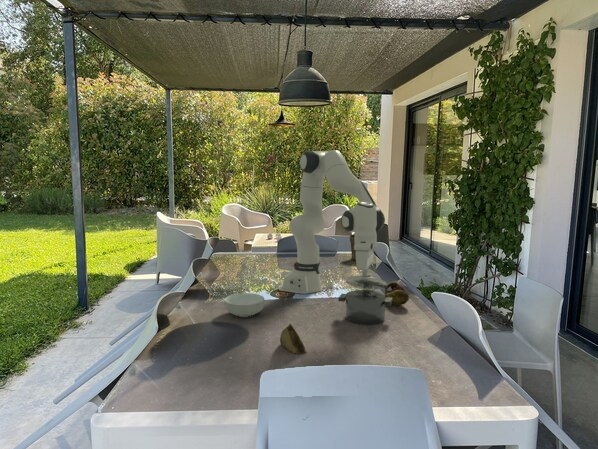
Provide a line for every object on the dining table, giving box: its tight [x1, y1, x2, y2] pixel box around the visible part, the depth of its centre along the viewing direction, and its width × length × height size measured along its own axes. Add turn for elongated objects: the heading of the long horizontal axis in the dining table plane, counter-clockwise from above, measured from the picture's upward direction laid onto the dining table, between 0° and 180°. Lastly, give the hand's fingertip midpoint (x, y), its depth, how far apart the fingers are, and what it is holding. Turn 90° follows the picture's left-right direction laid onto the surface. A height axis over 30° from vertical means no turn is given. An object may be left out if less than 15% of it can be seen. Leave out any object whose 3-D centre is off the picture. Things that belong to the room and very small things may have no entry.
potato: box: [384, 289, 410, 306], centre depth 201 cm, size 8×13×8 cm, turn 10°
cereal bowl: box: [224, 292, 265, 318], centre depth 191 cm, size 17×17×7 cm
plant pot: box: [349, 233, 356, 262], centre depth 299 cm, size 16×16×16 cm
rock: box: [279, 323, 307, 354], centre depth 155 cm, size 11×9×10 cm
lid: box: [345, 274, 387, 290], centre depth 185 cm, size 17×17×3 cm
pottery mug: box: [384, 281, 405, 295], centre depth 215 cm, size 12×10×8 cm
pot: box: [338, 288, 392, 326], centre depth 185 cm, size 21×17×10 cm
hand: (365, 276), depth 181 cm, fingers closed
